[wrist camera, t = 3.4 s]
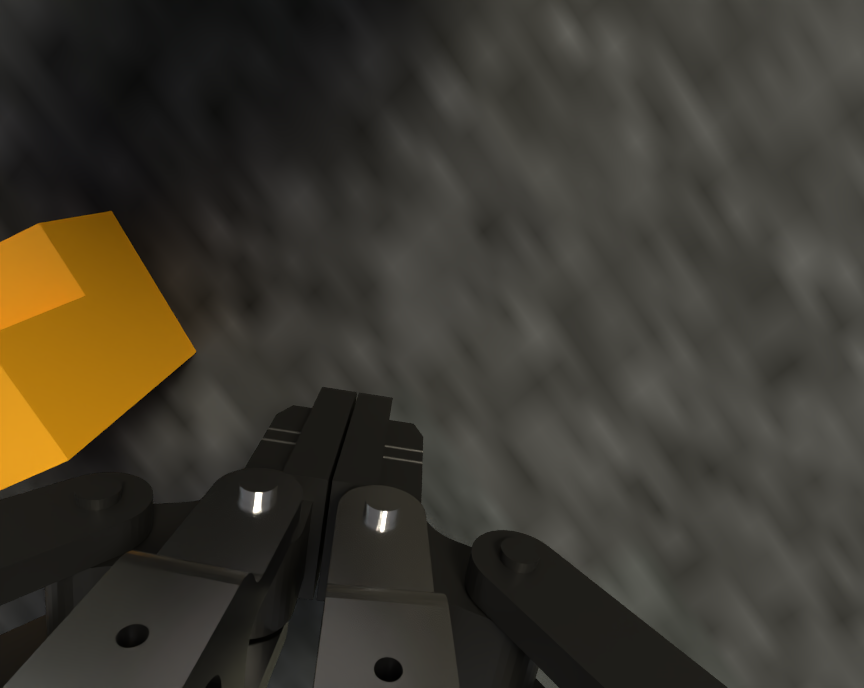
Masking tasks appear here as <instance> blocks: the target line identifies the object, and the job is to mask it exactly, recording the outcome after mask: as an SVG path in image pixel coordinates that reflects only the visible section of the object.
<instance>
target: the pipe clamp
mask: <svg viewBox="0 0 864 688" xmlns="http://www.w3.org/2000/svg"><path fill="white" fill-rule="evenodd" d="M195 353H196V350H195V348H194V347H193V345H192V343H191V342H190V340H189V339H188V337H187V335H186V334H185V332H184V330H183V329H182V327H181V325H180V324H179V322H178V320H177V319H176V317H175V315H174V314H173V312H172V310H171V309H170V307H169V305H168V304H167V302H166V300H165V299H164V297H163V295H162V294H161V292H160V290H159V289H158V287H157V285H156V284H155V282H154V280H153V279H152V277H151V275H150V274H149V272H148V270H147V269H146V267H145V265H144V264H143V262H142V260H141V259H140V257H139V255H138V254H137V252H136V251H135V249H134V247H133V246H132V244H131V242H130V241H129V239H128V237H127V236H126V234H125V232H124V231H123V229H122V227H121V226H120V224H119V222H118V221H117V219H116V217H115V216H114V214H113V212H112V211H108V212H102V213H96V214H90V215H84V216H78V217H72V218H66V219H60V220H54V221H49V222H43V223H38V224H36V225H34V226H32V227H30V228H28V229H26V230H24V231H22V232H20V233H18V234H16V235H14V236H12V237H10V238H8V239H6V240H4V241H2V242H0V490H2V489H4V488H7V487H9V486H11V485H13V484H16V483H18V482H20V481H23V480H25V479H27V478H29V477H32V476H34V475H36V474H39V473H41V472H43V471H45V470H48V469H50V468H52V467H55V466H57V465H59V464H61V463H64V462H66V461H68V460H70V459H71V458H72V457H73V456H74V455H76V454H77V453H78V452H79V451H80V450H81V449H83V448H84V447H85V446H86V445H87V444H89V443H90V442H91V441H92V440H93V439H94V438H96V437H97V436H98V435H99V434H100V433H102V432H103V431H104V430H105V429H106V428H107V427H109V426H110V425H111V424H112V423H113V422H115V421H116V420H117V419H118V418H119V417H120V416H122V415H123V414H124V413H125V412H126V411H127V410H129V409H130V408H131V407H132V406H133V405H135V404H136V403H137V402H138V401H139V400H140V399H142V398H143V397H144V396H145V395H146V394H148V393H149V392H150V391H151V390H152V389H153V388H155V387H156V386H157V385H158V384H159V383H161V382H162V381H163V380H164V379H165V378H166V377H168V376H169V375H170V374H171V373H172V372H174V371H175V370H176V369H177V368H178V367H179V366H181V365H182V364H183V363H184V362H185V361H187V360H188V359H189V358H190V357H191V356H192V355H194V354H195Z"/></svg>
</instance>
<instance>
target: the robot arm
mask: <svg viewBox="0 0 864 688" xmlns="http://www.w3.org/2000/svg"><path fill="white" fill-rule="evenodd" d="M356 396H357V393H356V392H351V391H345V390H339V389H332V388H326V387H322V389H321V391H320V393H319V395H318V397H317V399H316V401H315V403H314V406H313V408H307V407H301V406H294V405H293V406H291V407H289V408H287V409H286V410H284V411H282V412H280V413H278V414H277V415H276V417H275V418H274V420H273V422H272V423H271V425H270V427H269V430H267V432H266V433H265V435H264V437H263V440H261V442H260V443H259V445H258V447H257V448H256V450H255V452H254V454H253V455H252V457H251V459H250V460H249V462H248V464H247V465H246V467H245V469H241V470H237V471H234V472H231V473H228V474H226V475H224V476H223V477H221V478H220V479H218V480H217V481H216V482H215V483H214V484H213V486H212V487H211V488H210V489H209V491H208V492H207V493H206V494H205V495H204V497H203V498H202V499H201V500H199V501H193V502H182V503H163V504H153V490H152V488H151V486H150V485H149V484H148V483H147V482H146V481H144V480H143V479H141V478H139V477H137V476H134V475H130V474H125V473H116V472H103V473H93V474H88V475H83V476H79V477H76V478H72V479H69V480H66V481H62V482H59V483H55V484H52V485H49V486H45V487H42V488H39V489H35V490H32V491H29V492H25V493H22V494H19V495H15V496H12V497H9V498H5V499H2V500H0V605H3V604H5V603H7V602H10V601H12V600H15V599H17V598H19V597H22V596H24V595H26V594H29V593H31V592H34V591H36V590H38V589H41V588H43V587H45V602H46V615H44V616H42V617H39V618H37V619H35V620H33V621H31V622H28V623H26V624H24V625H22V626H20V627H17V628H15V629H13V630H11V631H9V632H6V633H4V634H2V635H0V688H266V687H267V685H268V682H269V680H270V677H271V675H272V672H273V670H274V667H275V665H276V662H277V660H278V657H279V655H280V652H281V650H282V647H283V645H284V642H285V640H286V636H287V631H288V622H289V619H290V618H291V616H292V614H293V611H294V608H295V605H296V601H297V598H302V599H309V600H313V596H314V592H315V588H316V585H317V581H318V577H319V573H320V578H319V585H318V593H317V600H318V601H325V602H324V609H323V617H322V623H321V630H320V637H319V645H318V652H317V659H316V667H315V674H314V681H313V688H545V687H544V686H543V685H542V684H541V683H540V682H539V681H538V680H537V679H536V674H537V671H538V667H539V668H540V669H541V670H542V671H543V672H544V673H545V674H546V675H547V676H548V677H549V678H550V679H551V680H552V681H553V682H554V683H555V684H556V685H557V686H558V687H559V688H727V687H726V686H725V685H724V684H722V683H721V682H720V681H719V680H717V679H716V678H715V677H713V676H712V675H711V674H710V673H708V672H707V671H706V670H705V669H703V668H702V667H701V666H700V665H698V664H697V663H696V662H694V661H693V660H692V659H691V658H689V657H688V656H687V655H686V654H684V653H683V652H682V651H680V650H679V649H678V648H677V647H675V646H674V645H673V644H672V643H670V642H669V641H668V640H667V639H665V638H664V637H663V636H661V635H660V634H659V633H658V632H656V631H655V630H654V629H653V628H651V627H650V626H649V625H647V624H646V623H645V622H644V621H642V620H641V619H640V618H639V617H637V616H636V615H635V614H634V613H632V612H631V611H630V610H628V609H627V608H626V607H625V606H623V605H622V604H621V603H620V602H618V601H617V600H616V599H614V598H613V597H612V596H611V595H609V594H608V593H607V592H606V591H604V590H603V589H602V588H601V587H599V586H598V585H597V584H595V583H594V582H593V581H592V580H590V579H589V578H588V577H587V576H585V575H584V574H583V573H581V572H580V571H579V570H578V569H576V568H575V567H574V566H573V565H571V564H570V563H569V562H568V561H566V560H565V559H564V558H562V557H561V556H560V555H559V554H557V553H556V552H555V551H554V550H552V549H551V548H550V547H548V546H547V545H546V544H544V543H543V542H541V541H539V540H537V539H536V538H533V537H531V536H529V535H526V534H523V533H519V532H515V531H507V530H498V531H491V532H487V533H485V534H483V535H481V536H479V537H478V538H477V539H476V540H475V542H474V543H473V546H472V547H470V546H467V545H464V544H462V543H459V542H456V541H454V540H452V539H449V538H447V537H445V536H444V535H442V534H440V533H439V532H438V531H436V530H435V529H434V528H433V527H431V526H430V524H429V523H428V522H427V521H426V513H425V509H424V508H423V506H422V504H421V492H422V459H423V453H422V452H423V436H422V435H421V433H420V432H419V430H418V429H417V428H416V426H415V425H414V424H412V423H405V422H399V421H392V420H389V417H390V411H391V405H392V399H393V398H390V397H384V396H378V395H371V394H365V393H359V395H358V398H357V401H356Z"/></svg>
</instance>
